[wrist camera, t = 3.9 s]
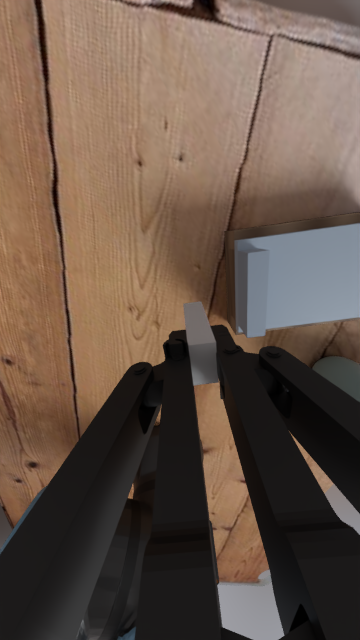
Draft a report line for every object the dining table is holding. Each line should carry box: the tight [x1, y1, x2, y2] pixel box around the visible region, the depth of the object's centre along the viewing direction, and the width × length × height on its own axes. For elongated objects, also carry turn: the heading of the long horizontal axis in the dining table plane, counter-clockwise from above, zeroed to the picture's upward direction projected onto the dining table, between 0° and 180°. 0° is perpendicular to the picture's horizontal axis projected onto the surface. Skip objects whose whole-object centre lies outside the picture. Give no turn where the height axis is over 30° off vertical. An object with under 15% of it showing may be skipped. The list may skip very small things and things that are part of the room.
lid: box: [234, 223, 360, 338], centre depth 21 cm, size 18×11×4 cm, turn 97°
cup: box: [312, 356, 360, 402], centre depth 30 cm, size 8×8×10 cm
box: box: [225, 212, 360, 335], centre depth 26 cm, size 18×13×4 cm
